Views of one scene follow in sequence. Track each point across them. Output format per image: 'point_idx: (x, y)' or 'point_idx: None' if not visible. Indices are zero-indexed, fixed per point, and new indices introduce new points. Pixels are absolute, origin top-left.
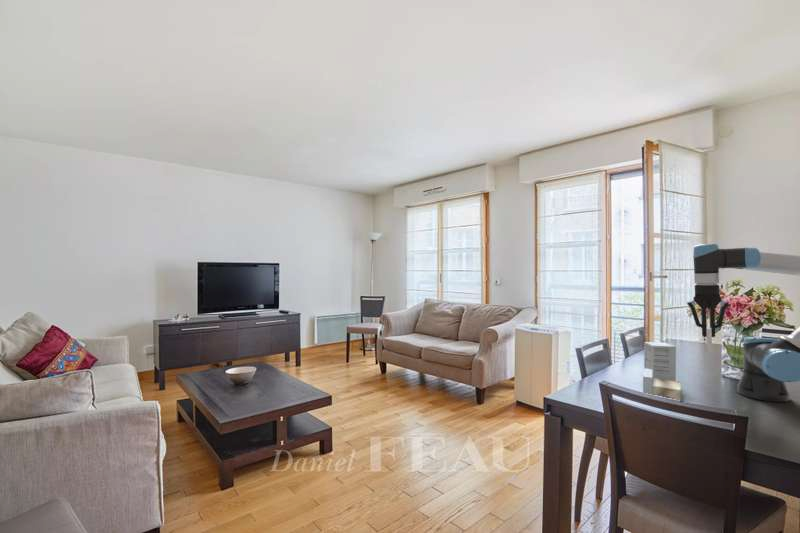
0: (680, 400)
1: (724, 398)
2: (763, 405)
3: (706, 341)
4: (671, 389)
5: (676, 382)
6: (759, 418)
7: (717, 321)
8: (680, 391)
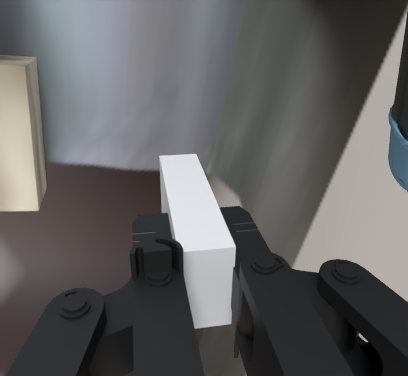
0: (45, 189)
1: (203, 34)
2: (312, 58)
3: (163, 203)
4: (3, 210)
5: (8, 89)
6: (253, 209)
7: (368, 337)
8: (39, 208)
